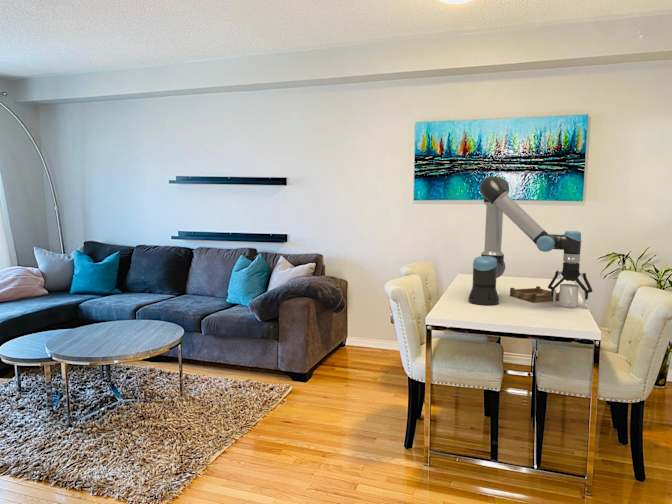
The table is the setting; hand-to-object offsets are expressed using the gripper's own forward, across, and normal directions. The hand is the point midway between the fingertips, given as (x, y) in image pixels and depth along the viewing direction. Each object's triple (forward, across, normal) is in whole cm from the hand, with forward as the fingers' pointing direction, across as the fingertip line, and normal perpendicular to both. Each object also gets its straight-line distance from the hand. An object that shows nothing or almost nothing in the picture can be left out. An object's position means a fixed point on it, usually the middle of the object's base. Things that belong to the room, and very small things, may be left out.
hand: (568, 304), depth 259 cm
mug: (+2, 0, 0) cm, 2 cm away
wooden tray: (+1, -18, +14) cm, 23 cm away
